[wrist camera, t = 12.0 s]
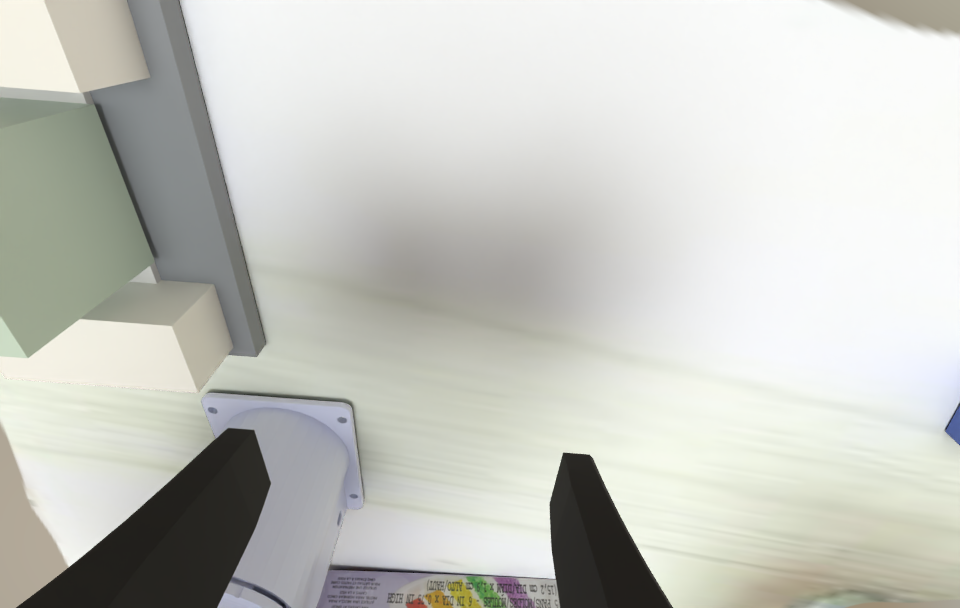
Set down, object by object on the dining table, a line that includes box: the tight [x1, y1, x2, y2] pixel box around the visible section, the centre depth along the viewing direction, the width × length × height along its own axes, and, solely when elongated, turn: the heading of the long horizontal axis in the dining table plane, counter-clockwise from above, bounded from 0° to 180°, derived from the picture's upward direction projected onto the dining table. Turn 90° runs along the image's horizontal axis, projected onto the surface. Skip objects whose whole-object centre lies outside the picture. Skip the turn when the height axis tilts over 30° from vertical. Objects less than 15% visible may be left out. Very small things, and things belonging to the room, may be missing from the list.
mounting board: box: [0, 0, 266, 357], centre depth 18 cm, size 15×10×1 cm, turn 176°
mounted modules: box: [0, 0, 233, 393], centre depth 16 cm, size 14×8×3 cm, turn 176°
